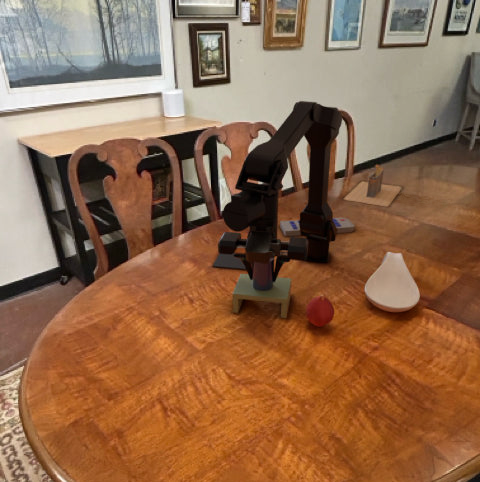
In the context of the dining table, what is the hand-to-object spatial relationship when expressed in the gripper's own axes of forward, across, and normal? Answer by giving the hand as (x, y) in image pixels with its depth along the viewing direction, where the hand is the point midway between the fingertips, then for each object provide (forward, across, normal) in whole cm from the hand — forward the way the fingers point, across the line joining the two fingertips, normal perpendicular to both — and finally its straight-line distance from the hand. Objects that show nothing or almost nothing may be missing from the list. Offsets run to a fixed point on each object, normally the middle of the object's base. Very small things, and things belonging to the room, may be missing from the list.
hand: (262, 280), depth 93 cm
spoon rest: (+7, +29, +11) cm, 32 cm away
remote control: (+7, +10, +45) cm, 47 cm away
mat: (+6, -11, +20) cm, 24 cm away
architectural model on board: (+7, +30, +84) cm, 89 cm away
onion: (+7, +13, -6) cm, 16 cm away
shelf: (+6, 0, 0) cm, 6 cm away
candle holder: (+1, 0, 0) cm, 1 cm away
